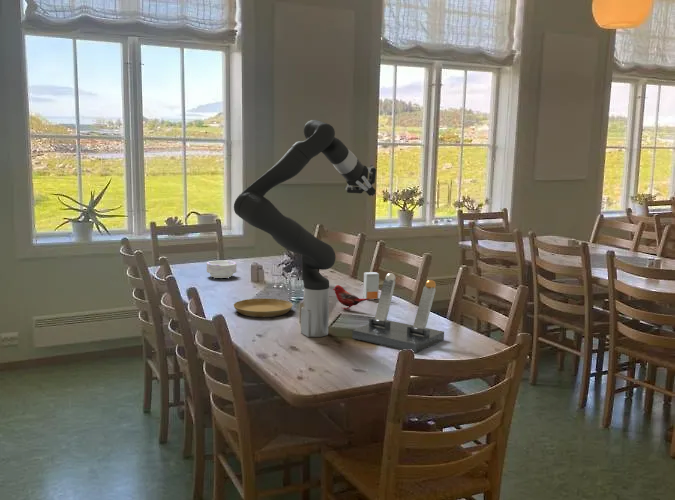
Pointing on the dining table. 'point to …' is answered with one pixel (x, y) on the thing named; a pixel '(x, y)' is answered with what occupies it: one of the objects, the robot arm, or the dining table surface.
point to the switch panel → (397, 336)
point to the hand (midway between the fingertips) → (373, 193)
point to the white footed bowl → (221, 268)
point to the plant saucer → (263, 307)
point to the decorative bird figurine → (346, 297)
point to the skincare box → (370, 285)
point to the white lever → (384, 300)
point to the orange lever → (424, 308)
